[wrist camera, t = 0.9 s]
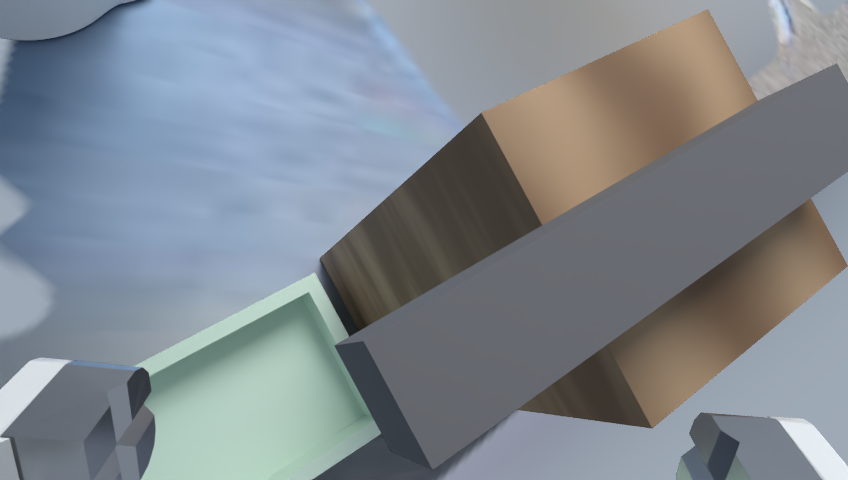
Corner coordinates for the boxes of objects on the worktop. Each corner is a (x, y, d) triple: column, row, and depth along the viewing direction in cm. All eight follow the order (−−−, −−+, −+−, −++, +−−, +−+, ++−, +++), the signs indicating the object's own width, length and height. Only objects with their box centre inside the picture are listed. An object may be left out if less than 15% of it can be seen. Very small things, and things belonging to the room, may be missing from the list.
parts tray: (303, 281, 47) (314, 272, 43) (377, 418, 47) (396, 423, 43) (-75, 477, 37) (-114, 493, 33) (17, 652, 37) (-9, 692, 33)
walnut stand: (442, 196, 53) (707, 9, 25) (508, 318, 53) (847, 266, 25) (319, 258, 48) (481, 112, 20) (392, 392, 48) (652, 428, 20)
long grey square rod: (757, 101, 25) (837, 63, 22) (797, 173, 25) (882, 146, 22) (334, 345, 17) (363, 341, 14) (390, 451, 17) (432, 469, 14)
